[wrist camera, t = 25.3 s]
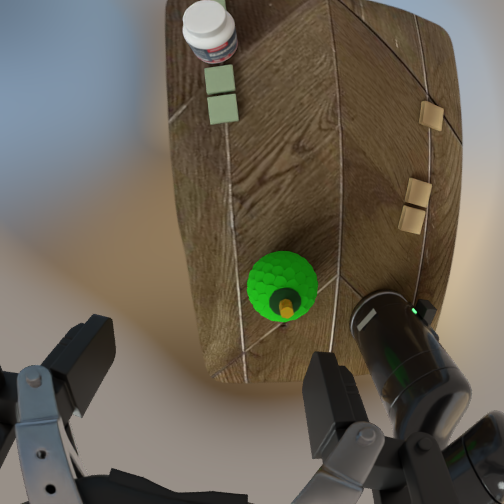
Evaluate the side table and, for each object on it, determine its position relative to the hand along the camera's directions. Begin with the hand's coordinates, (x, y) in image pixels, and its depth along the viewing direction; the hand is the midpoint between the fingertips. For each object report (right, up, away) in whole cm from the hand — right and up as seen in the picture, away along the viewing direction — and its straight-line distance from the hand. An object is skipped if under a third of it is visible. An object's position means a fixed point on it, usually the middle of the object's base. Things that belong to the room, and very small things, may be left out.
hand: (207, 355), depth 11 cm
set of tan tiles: (+24, +15, +22) cm, 36 cm away
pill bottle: (-3, +28, +18) cm, 34 cm away
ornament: (+5, +1, +27) cm, 28 cm away
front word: (-2, +27, +18) cm, 32 cm away
